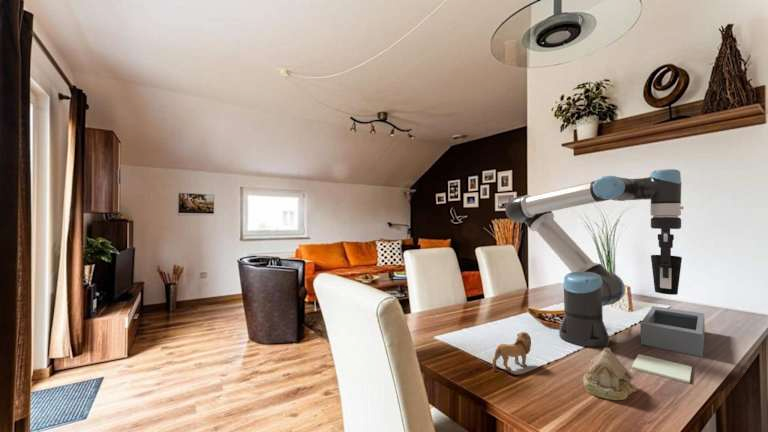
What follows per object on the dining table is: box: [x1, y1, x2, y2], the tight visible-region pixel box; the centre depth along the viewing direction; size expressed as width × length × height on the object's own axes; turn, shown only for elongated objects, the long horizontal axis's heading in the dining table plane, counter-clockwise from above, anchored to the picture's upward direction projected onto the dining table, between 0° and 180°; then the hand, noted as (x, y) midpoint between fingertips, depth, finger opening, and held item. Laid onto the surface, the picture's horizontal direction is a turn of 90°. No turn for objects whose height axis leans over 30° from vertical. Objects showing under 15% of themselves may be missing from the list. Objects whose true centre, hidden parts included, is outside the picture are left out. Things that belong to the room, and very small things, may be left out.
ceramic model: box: [582, 346, 638, 401], centre depth 81 cm, size 14×11×10 cm
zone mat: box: [631, 353, 693, 384], centre depth 91 cm, size 12×12×1 cm
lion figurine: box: [492, 331, 532, 371], centre depth 93 cm, size 15×5×9 cm, turn 118°
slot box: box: [640, 305, 706, 358], centre depth 115 cm, size 15×32×7 cm, turn 134°
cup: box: [650, 254, 683, 296], centre depth 104 cm, size 8×8×12 cm
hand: (665, 286), depth 104 cm, fingers closed on cup, 8 cm apart
